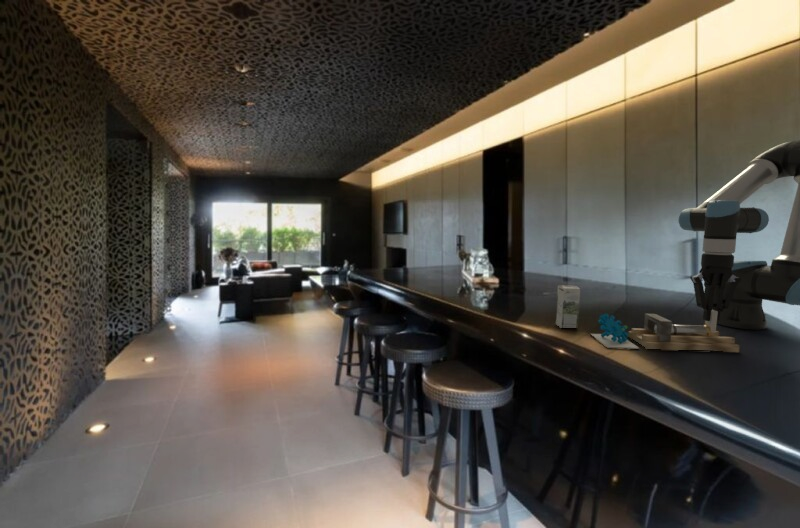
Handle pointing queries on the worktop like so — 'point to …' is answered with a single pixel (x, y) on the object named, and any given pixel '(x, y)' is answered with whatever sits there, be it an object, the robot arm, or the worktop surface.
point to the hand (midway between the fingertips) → (709, 331)
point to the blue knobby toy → (613, 328)
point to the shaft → (687, 330)
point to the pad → (612, 344)
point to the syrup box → (567, 306)
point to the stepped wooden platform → (678, 338)
